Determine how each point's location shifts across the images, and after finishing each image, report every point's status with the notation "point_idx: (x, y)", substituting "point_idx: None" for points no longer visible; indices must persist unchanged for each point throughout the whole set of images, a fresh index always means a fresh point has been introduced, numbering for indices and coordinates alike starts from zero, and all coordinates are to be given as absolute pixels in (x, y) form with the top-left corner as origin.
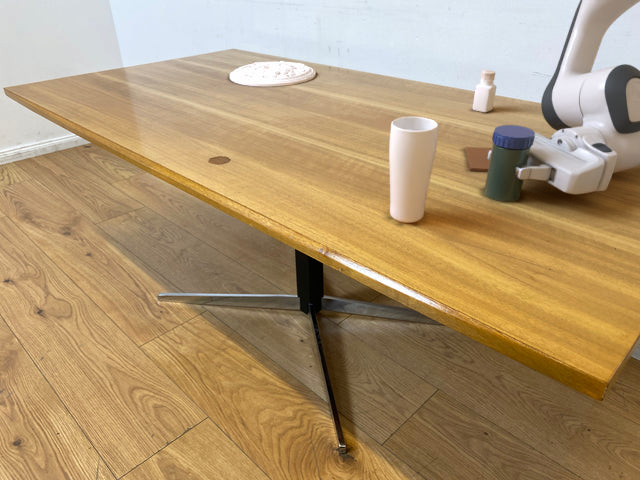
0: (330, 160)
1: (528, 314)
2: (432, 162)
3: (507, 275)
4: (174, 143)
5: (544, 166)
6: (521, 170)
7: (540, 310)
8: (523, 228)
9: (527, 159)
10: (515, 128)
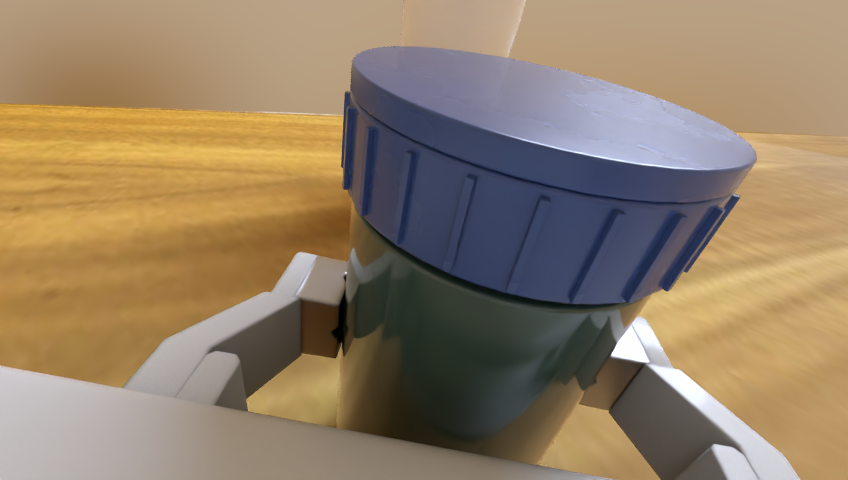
0: (740, 227)
1: (43, 129)
2: (408, 31)
3: (123, 164)
4: (761, 152)
5: (184, 363)
6: (303, 254)
7: (19, 138)
8: (172, 298)
9: (353, 307)
10: (621, 117)
